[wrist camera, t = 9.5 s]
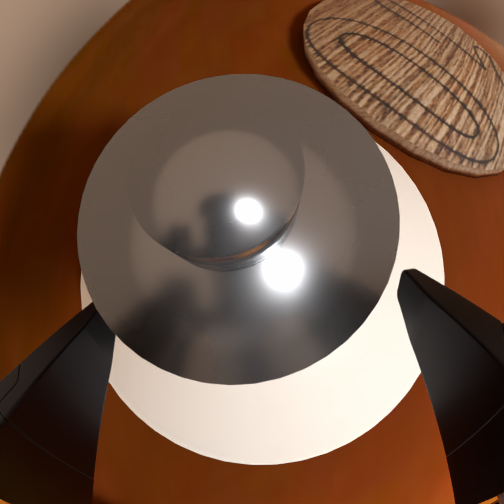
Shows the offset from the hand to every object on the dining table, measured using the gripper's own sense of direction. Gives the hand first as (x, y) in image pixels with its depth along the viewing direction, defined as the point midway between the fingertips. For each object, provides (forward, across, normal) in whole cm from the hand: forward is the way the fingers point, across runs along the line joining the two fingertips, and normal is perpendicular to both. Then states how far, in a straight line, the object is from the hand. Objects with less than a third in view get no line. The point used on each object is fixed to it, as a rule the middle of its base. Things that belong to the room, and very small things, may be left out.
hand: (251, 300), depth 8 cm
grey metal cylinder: (+6, 0, +3) cm, 6 cm away
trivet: (+21, -18, -7) cm, 29 cm away
